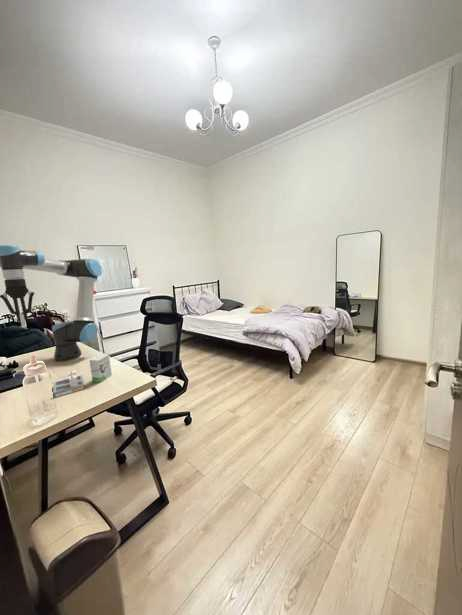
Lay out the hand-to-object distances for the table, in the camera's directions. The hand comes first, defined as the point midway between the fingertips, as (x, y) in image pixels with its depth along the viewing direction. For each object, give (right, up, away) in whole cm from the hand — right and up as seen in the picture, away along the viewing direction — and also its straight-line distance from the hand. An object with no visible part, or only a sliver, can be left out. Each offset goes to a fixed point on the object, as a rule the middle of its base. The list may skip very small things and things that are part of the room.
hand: (24, 327), depth 122 cm
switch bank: (+24, -29, -2) cm, 37 cm away
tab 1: (+23, -27, +1) cm, 35 cm away
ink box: (+35, -27, +6) cm, 45 cm away
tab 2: (+27, -27, -4) cm, 39 cm away
